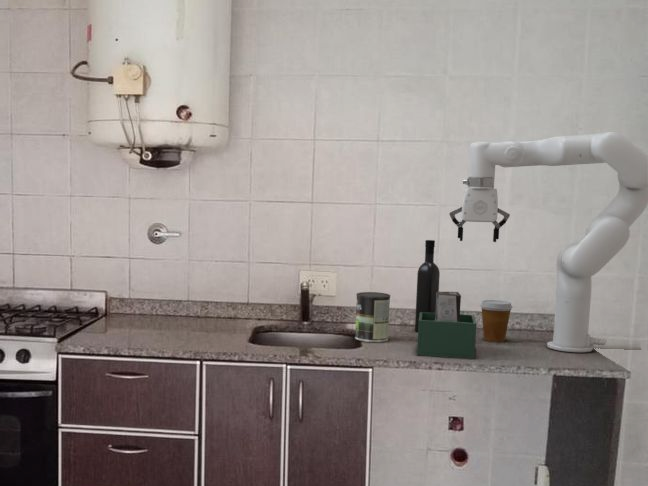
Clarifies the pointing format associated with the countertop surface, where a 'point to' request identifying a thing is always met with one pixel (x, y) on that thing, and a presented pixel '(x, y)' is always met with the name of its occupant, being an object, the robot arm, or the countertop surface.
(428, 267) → the wine bottle
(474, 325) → the green storage bin
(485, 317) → the disposable coffee cup
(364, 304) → the coffee can
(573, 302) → the robot arm
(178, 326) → the countertop surface
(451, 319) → the coffee box
